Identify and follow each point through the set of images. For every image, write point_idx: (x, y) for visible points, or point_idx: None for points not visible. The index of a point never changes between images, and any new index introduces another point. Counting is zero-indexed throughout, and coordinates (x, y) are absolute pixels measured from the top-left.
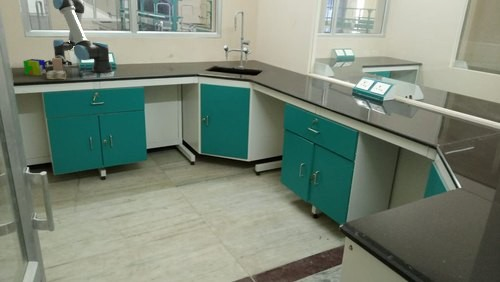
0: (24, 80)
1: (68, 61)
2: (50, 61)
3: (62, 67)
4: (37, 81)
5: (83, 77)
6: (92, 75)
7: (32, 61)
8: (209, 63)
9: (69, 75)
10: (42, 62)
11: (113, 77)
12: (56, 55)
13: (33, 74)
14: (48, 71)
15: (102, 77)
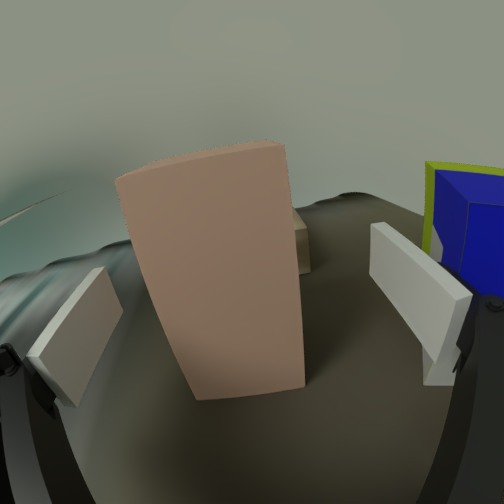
0: (382, 210)
1: (6, 344)
2: (502, 420)
3: (170, 337)
4: (319, 210)
5: None
6: (31, 318)
7: (468, 165)
8: None
9: (151, 314)
10: (451, 218)
11: (5, 290)
12: None
13: None
14: (295, 219)
15: (30, 287)
